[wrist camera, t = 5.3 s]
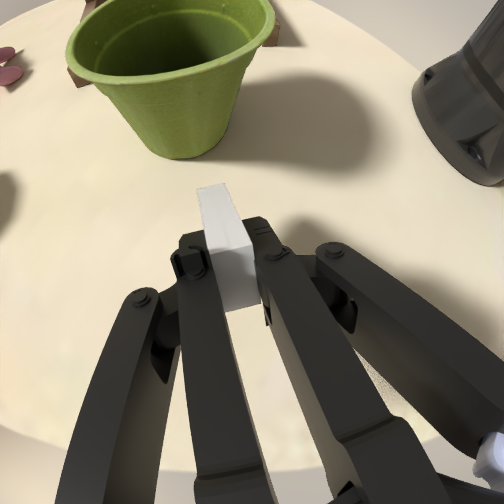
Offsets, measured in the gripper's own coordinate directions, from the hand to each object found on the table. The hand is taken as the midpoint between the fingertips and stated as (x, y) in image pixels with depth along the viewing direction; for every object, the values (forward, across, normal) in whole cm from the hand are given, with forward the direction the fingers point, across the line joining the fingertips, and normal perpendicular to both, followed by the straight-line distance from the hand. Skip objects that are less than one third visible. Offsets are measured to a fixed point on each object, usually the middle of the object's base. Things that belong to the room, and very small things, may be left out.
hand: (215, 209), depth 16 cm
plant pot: (+11, -1, +4) cm, 11 cm away
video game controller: (+24, -25, +18) cm, 39 cm away
